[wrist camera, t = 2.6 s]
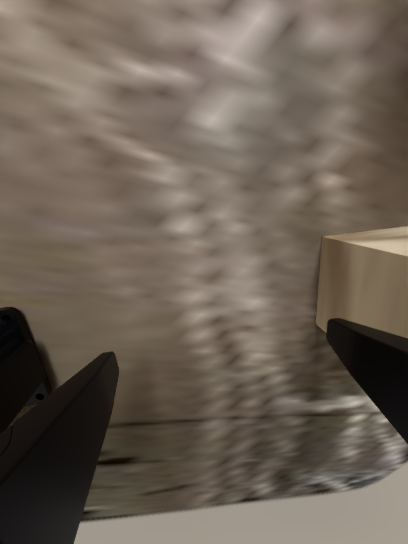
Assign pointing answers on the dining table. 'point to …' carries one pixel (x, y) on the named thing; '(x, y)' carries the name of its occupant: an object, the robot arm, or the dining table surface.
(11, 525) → the robot arm
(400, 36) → the dining table surface
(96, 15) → the dining table surface
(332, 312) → the maple block
